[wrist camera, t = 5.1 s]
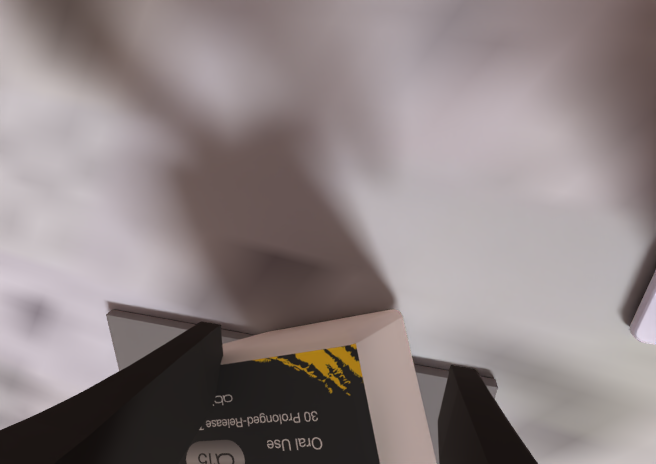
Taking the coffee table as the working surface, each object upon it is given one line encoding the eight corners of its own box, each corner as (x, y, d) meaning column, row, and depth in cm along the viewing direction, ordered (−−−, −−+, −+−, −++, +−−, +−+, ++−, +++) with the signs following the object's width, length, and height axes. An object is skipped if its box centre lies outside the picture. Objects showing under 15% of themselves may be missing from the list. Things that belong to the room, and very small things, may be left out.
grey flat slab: (495, 379, 16) (498, 387, 16) (445, 544, 21) (446, 554, 21) (113, 309, 19) (106, 314, 19) (148, 465, 24) (143, 472, 24)
